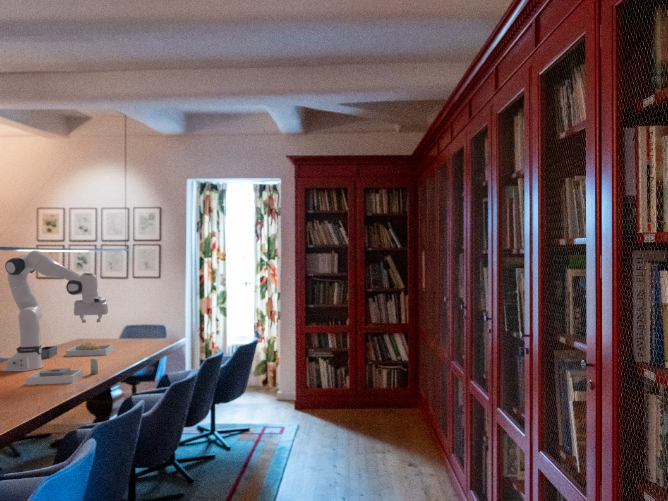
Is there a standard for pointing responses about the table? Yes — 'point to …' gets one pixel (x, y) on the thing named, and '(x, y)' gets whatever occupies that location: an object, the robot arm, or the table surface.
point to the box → (54, 376)
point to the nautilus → (89, 347)
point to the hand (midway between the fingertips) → (91, 322)
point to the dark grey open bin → (48, 352)
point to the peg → (94, 366)
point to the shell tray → (89, 351)
